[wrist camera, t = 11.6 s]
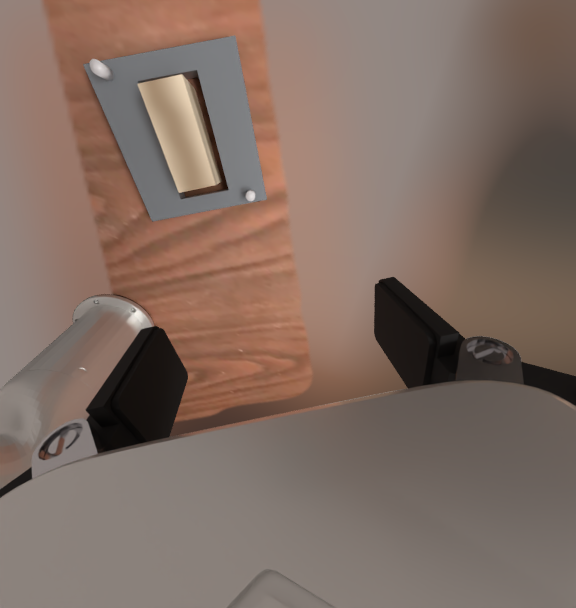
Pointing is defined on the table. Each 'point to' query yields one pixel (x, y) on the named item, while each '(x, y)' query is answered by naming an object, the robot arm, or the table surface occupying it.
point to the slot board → (143, 139)
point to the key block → (181, 132)
